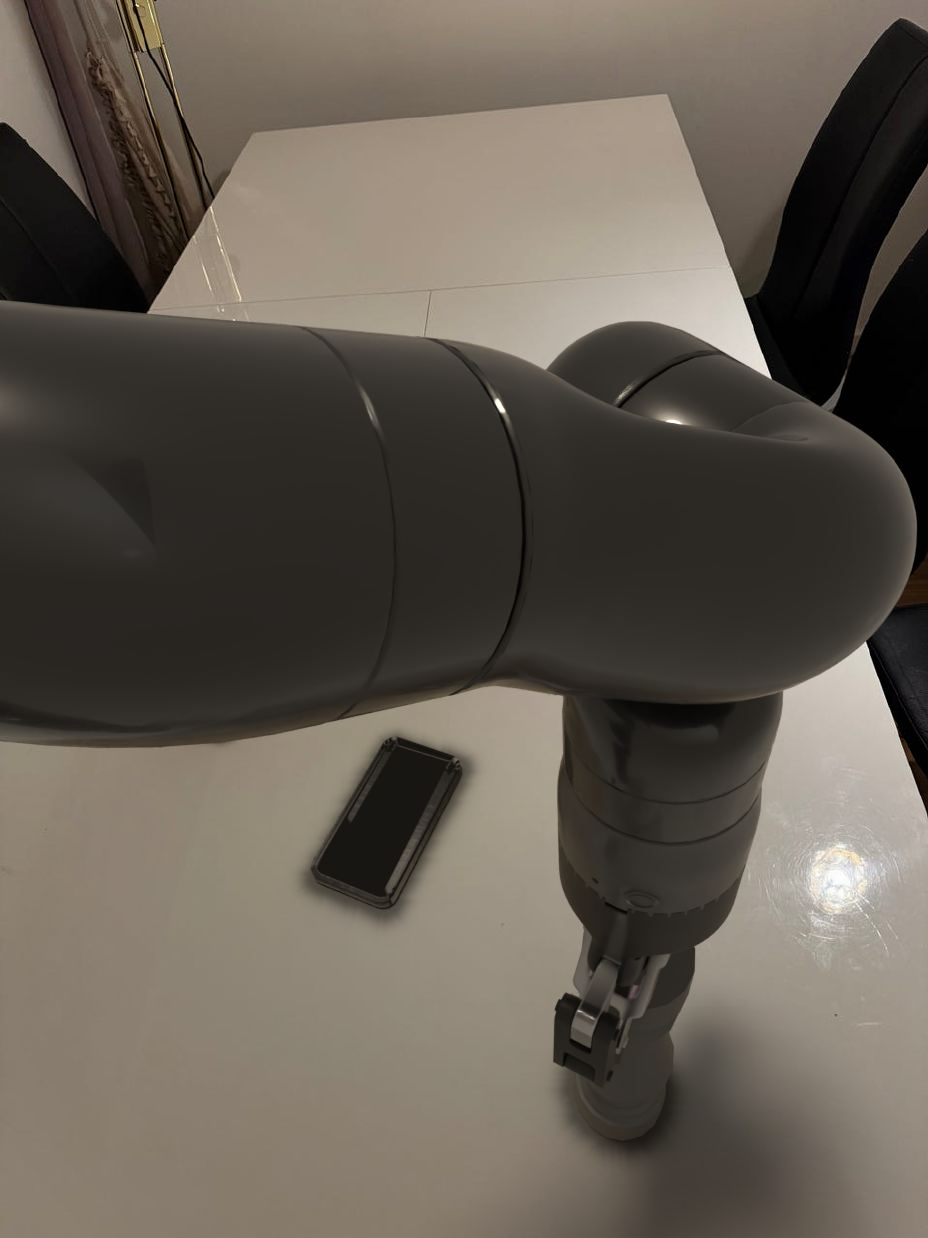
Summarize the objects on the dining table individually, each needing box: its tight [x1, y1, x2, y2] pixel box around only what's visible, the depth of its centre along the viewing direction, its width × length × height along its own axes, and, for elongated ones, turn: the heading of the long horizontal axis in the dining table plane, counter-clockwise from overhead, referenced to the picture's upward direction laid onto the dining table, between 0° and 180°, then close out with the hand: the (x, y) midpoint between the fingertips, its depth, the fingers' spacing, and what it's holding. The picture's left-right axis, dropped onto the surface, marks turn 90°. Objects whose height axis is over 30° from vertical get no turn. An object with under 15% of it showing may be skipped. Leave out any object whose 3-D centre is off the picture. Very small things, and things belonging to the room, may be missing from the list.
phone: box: [310, 736, 462, 909], centre depth 80 cm, size 8×1×15 cm
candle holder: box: [573, 931, 696, 1142], centre depth 55 cm, size 6×6×25 cm
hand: (633, 973), depth 48 cm, fingers open, 8 cm apart
